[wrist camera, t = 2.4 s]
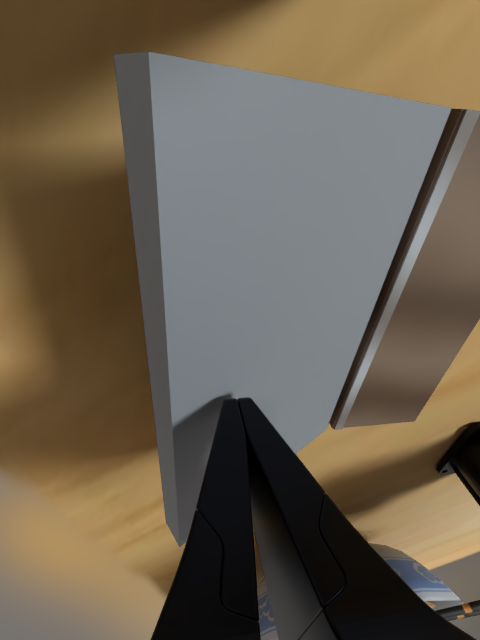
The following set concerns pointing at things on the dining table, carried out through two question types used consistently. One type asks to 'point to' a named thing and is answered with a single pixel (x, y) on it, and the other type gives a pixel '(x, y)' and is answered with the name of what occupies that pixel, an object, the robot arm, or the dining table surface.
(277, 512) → the robot arm
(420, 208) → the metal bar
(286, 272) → the grey tile
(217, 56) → the dining table surface
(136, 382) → the dining table surface
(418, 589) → the ramen bowl
